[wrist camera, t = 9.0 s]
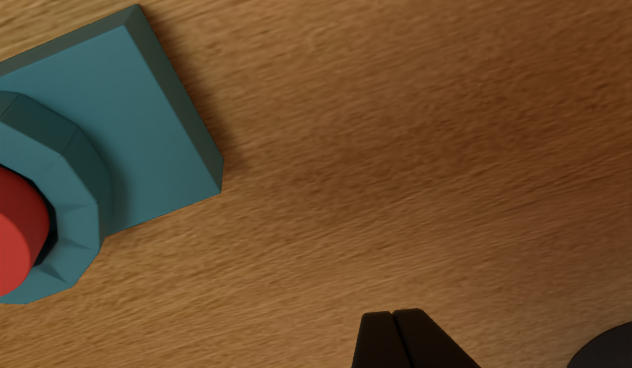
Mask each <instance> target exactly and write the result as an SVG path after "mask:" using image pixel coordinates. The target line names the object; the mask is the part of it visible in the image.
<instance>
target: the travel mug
mask: <svg viewBox="0 0 632 368" xmlns="http://www.w3.org/2000/svg"><path fill="white" fill-rule="evenodd" d="M567 368H632V323H629V324H625V325H623V326H620V327H617V328H615V329H613V330H610V331H608V332H606V333H604V334H603V335H601V336H599V337H597V338H596V339H594V340H593V341H591V342H590V343H589V344H587V345H586V346H585V347H584V348H583V349H582V350H581V351H580V352H579V353H578V354H577V355H576V356H575V357H574V358H573V359H572V361H571V362H570V364H569V365H568V367H567Z"/></svg>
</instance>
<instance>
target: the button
mask: <svg viewBox="0 0 632 368" xmlns="http://www.w3.org/2000/svg"><path fill="white" fill-rule="evenodd" d="M49 227H50V219H49V214H48V210H47V208H46V205H45V203H44V201H43V199H42V198H41V196H40V195H39V194H38V192H37V191H36V190H35V189H34V188H33V187H32V186H31V185H30V184H29V183H28V182H27V181H25V180H24V179H23V178H21V177H20V176H18V175H17V174H15V173H13V172H11V171H10V170H7V169H5V168H3V167H0V297H1V296H3V295H6V294H8V293H10V292H11V291H13V290H14V289H16V288H17V287H18V286H20V285H21V284H22V283H23V281H24V280H25V279H26V277H27V276H28V274H29V272H30V270H31V268H32V266H33V264H34V262H35V260H36V258H37V256H38V254H39V252H40V250H41V248H42V246H43V244H44V242H45V240H46V238H47V235H48V233H49Z"/></svg>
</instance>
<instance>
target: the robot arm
mask: <svg viewBox="0 0 632 368" xmlns="http://www.w3.org/2000/svg"><path fill="white" fill-rule="evenodd" d="M351 368H481V367H480V366H479V365H478V364H477V363H476V362H475V361H474V360H473V359H472V358H471V357H470V356H469V355H468V354H467V353H466V352H465V351H464V350H463V349H462V348H461V347H460V346H459V345H458V344H457V343H456V342H455V341H454V340H453V339H452V338H451V337H450V336H448V335H447V334H446V333H445V332H444V331H443V330H442V329H441V328H440V327H439V326H438V325H437V324H436V323H435V322H434V321H433V320H432V319H431V318H430V317H429V316H428V315H427V314H426V313H425V312H424V311H423V310H421V309H419V308H413V309H402V310H395V311H394V312H393V313H392V314H391V313H390V312H389V311H381V312H370V313H365V314H363V316H362V319H361V323H360V328H359V333H358V338H357V343H356V347H355V352H354V357H353V362H352V367H351Z"/></svg>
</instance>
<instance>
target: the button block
mask: <svg viewBox="0 0 632 368" xmlns="http://www.w3.org/2000/svg"><path fill="white" fill-rule="evenodd" d="M223 165H224V159H223V157H222V155H221V154H220V152H219V150H218V148H217V146H216V145H215V143H214V141H213V139H212V137H211V135H210V134H209V132H208V130H207V128H206V126H205V125H204V123H203V121H202V119H201V117H200V116H199V114H198V112H197V110H196V108H195V106H194V105H193V103H192V101H191V99H190V97H189V96H188V94H187V92H186V90H185V88H184V86H183V85H182V83H181V81H180V79H179V77H178V76H177V74H176V72H175V70H174V68H173V66H172V65H171V63H170V61H169V59H168V57H167V56H166V54H165V52H164V50H163V48H162V46H161V45H160V43H159V41H158V39H157V37H156V36H155V34H154V32H153V30H152V28H151V26H150V25H149V23H148V21H147V19H146V17H145V16H144V14H143V12H142V10H141V8H140V7H139V5H138V4H135V5H133V6H130V7H128V8H126V9H123V10H121V11H119V12H116V13H114V14H112V15H109V16H107V17H105V18H102V19H100V20H98V21H95V22H93V23H91V24H88V25H86V26H84V27H81V28H79V29H77V30H74V31H72V32H69V33H67V34H65V35H62V36H60V37H58V38H55V39H53V40H51V41H48V42H46V43H44V44H41V45H39V46H37V47H34V48H32V49H30V50H27V51H25V52H23V53H20V54H18V55H16V56H13V57H11V58H9V59H6V60H4V61H2V62H0V167H3V168H5V169H7V170H10V171H11V172H13V173H15V174H17V175H18V176H20V177H21V178H23V179H24V180H25V181H27V182H28V183H29V184H30V185H31V186H32V187H33V188H34V189H35V190H36V191H37V192H38V194H39V195H40V196H41V198H42V199H43V201H44V203H45V205H46V208H47V210H48V214H49V219H50V227H49V233H48V235H47V238H46V240H45V242H44V244H43V246H42V248H41V250H40V252H39V254H38V256H37V258H36V260H35V262H34V264H33V266H32V268H31V270H30V272H29V274H28V276H27V277H26V279H25V280H24V281H23V283H22V284H21V285H20V286H18V287H17V288H16V289H14V290H13V291H11V292H10V293H8V294H6V295H3V296H1V297H0V303H5V304H28V303H30V302H33V301H36V300H39V299H41V298H44V297H47V296H50V295H52V294H55V293H58V292H60V291H63V290H66V289H69V288H71V287H72V286H74V285H75V284H76V282H77V281H78V280H79V278H80V277H81V276H82V274H83V273H84V272H85V271H86V269H87V268H88V267H89V265H90V264H91V263H92V261H93V260H94V259H95V257H96V256H97V255H98V254H99V252H100V250H101V247H102V244H103V242H104V239H105V237H106V236H108V235H111V234H114V233H116V232H119V231H122V230H124V229H127V228H130V227H132V226H135V225H138V224H140V223H143V222H146V221H148V220H151V219H154V218H156V217H159V216H161V215H164V214H167V213H169V212H172V211H175V210H177V209H180V208H183V207H185V206H188V205H191V204H193V203H196V202H199V201H201V200H204V199H207V198H209V197H212V196H215V195H217V194H220V193H221V188H222V177H223Z"/></svg>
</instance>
